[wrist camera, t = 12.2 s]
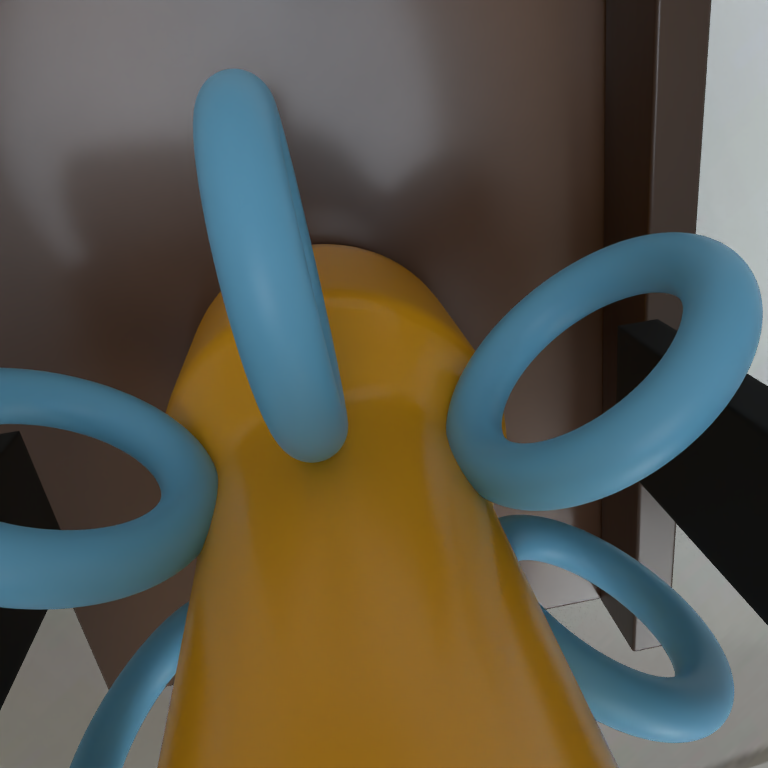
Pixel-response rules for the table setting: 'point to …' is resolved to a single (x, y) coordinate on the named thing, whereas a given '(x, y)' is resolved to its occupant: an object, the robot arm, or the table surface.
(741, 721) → the table surface
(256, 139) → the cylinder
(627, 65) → the stand
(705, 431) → the robot arm
